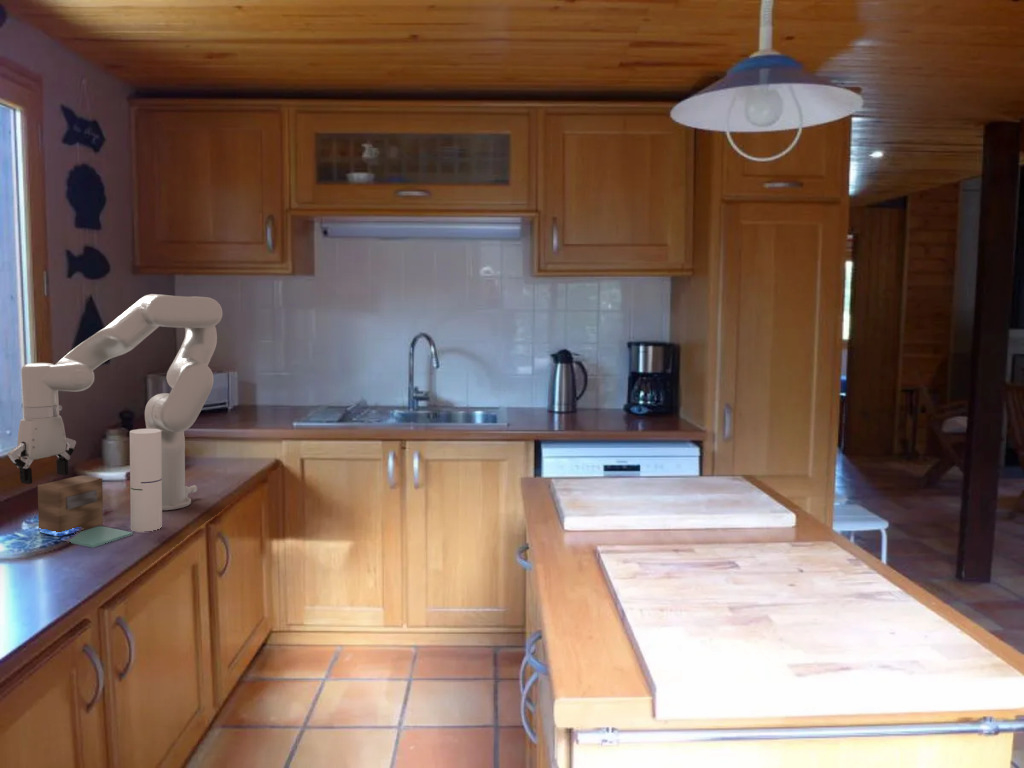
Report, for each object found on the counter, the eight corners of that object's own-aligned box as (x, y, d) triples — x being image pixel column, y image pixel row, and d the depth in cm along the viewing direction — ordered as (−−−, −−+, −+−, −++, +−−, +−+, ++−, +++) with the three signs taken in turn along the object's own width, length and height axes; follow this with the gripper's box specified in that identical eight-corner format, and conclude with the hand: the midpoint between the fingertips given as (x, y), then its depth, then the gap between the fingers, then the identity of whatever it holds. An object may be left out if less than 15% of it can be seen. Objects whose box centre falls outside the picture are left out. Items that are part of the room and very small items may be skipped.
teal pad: (100, 528, 186) (100, 525, 186) (132, 534, 182) (132, 532, 182) (59, 540, 175) (59, 538, 175) (93, 547, 172) (93, 545, 172)
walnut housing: (81, 520, 191) (80, 474, 190) (104, 524, 189) (103, 478, 187) (37, 532, 180) (35, 484, 179) (60, 537, 177) (59, 488, 176)
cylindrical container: (161, 531, 185) (160, 433, 183) (129, 533, 183) (128, 433, 180) (162, 523, 192) (162, 428, 189) (132, 524, 189) (131, 428, 187)
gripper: (62, 406, 194) (65, 470, 196) (-4, 416, 178) (0, 485, 180) (83, 408, 192) (86, 473, 194) (18, 418, 176) (22, 488, 178)
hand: (45, 478), depth 187 cm, fingers open, 9 cm apart
